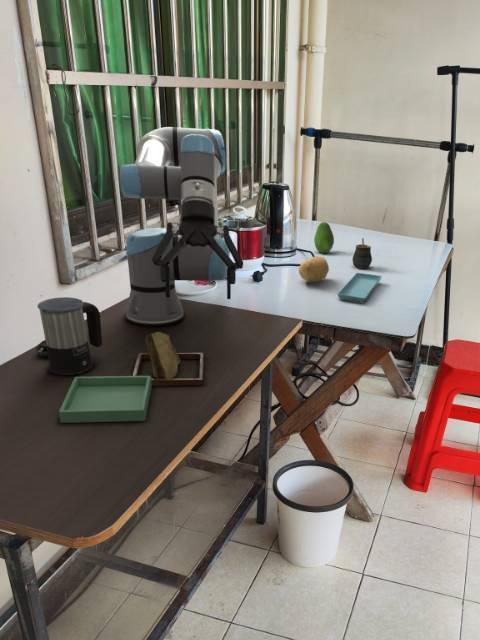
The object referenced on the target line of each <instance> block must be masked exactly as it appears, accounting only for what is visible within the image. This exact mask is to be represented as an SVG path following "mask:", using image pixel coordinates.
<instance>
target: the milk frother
mask: <svg viewBox="0 0 480 640" xmlns="http://www.w3.org/2000/svg"><path fill="white" fill-rule="evenodd" d="M37 309H38V310H39V313H40V318H41V319H40V320H41V324H42V329H43V335H44V339H43V340H42V341H40V343H38V344H37V346H36V354H38V356H40V357H43V358H46V359H47V358H48V362H49V366H48V370H49V372H51V373H52V374H55V375H58V376H75V375H80V374H83V373H85V372H88V371H90V370H91V369H92V368H93V367H94V362H93V360H92V356H91V351H90V347H89V344H90V345H91V346H93V347H95V348H100V347H101V346H102V344H103V337H102V335H103V334H102V322H101V312H100V310H99V309H98V307H97V306H96V305H94V304H92V303H90V302H88V301H83V300H82V299H80V298H76V297H71V296H69V297H66V296H63V297H52V298H49V299H48V298H47V299H45V300H42V301H40V302H38V304H37ZM84 314H85V315H86V316H84ZM85 317H86V322H85ZM86 327H87V328H86ZM87 333H88V334H87Z"/></svg>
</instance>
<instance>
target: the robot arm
mask: <svg viewBox="0 0 480 640" xmlns="http://www.w3.org/2000/svg"><path fill="white" fill-rule="evenodd" d="M224 142H225V141H224V139H223V135H222V133H221V132H220V131H219V130H217V129H210V128H191V127H173V126H166V127H165V126H164V127H160V128H156V129H154V130H151V131H149V132H148V133H146V134H144V135H143V136H141V138H140V139H139V141H138V142H137V145H136V150H135V152H136V153H135V155H136V159H135V162H134V163H129V164H122V165H121V166H120V168H119V182H120V183H119V184H120V188H121V193H122V195H123V196H124V197H125V198H130V199H137V200H140V199H141V200H143V199H145V200H146V199H147V200H148V199H149V200H175V201H177V200H178V201H180V203H181V205H180V225H177V224H173V223H172V222H168V223H166V227H149V228H143V229H138V230H136V231H133V232H130V233H129V234H128V235H127V237H126V239H125V242H126V245H125V246H126V252H125V255H126V257H127V258H126V259H127V265H128V275H129V287H130V292H129V297H128V301H127V304H126V309H125V315H126V316H125V317H126V320H127V321H128V322H130V323H131V324H134V325H137V326H138V325H139V326H143V327H144V326H145V327H162V326H169V325H174V324H176V323H178V322H180V321H182V320H183V319H184V316H185V315H184V308H183V305H182V302H181V300H180V297H179V295H178V292H177V290H176V283H175V281H195V282H197V281H201V282H203V281H204V282H219V281H223V280H226V299H227V300H231V298H232V297H231V296H232V292H231V291H232V289H231V288H232V287H231V286H232V285H235V284H236V282H237V281H236V280H237V279H236V271H237V270H240V269H241V270H242V269H243V267H244V261H243V259H242V256H241V254H240V253H239V251H238V249H237V248H236V245H235V244H234V241H233V239H232V237H231V235H230V230H229V226H228V225H226V224H225V225H223V227H220V226H219V209H218V208H219V206H218V205H219V204H218V188H217V186H218V185H217V179H218V178H219V177H220V174H221V173H224V172H225V171H226V162H227V161H226V151H225V143H224ZM177 233H180V234H177ZM230 255H231V256H232V259H233V260H234V261H233V260H232V259H231V257H230Z"/></svg>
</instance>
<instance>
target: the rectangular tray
mask: <svg viewBox="0 0 480 640" xmlns="http://www.w3.org/2000/svg"><path fill="white" fill-rule="evenodd" d="M382 277H383V276H382V275H377V274H370V273H364V272H356V273H354V275H353V276H352V277H351V278H350V279H349V281H347V283H346V284H345V285H343V287H342V288H340V290H339V291H338V292H337V296H338V298H339V299H340V301H347V302H353V303H360V304H363V303H364V302H365V301H366V300H367V298H368V297H369V296H370V294H371V293H372V292H373V290H374V289H375V288H376V286H377V285H378V284H379V282H380V281H381V279H382Z"/></svg>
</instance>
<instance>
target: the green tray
mask: <svg viewBox="0 0 480 640" xmlns="http://www.w3.org/2000/svg"><path fill="white" fill-rule="evenodd" d="M151 379H152V376H151V375H138V376H133V375H114V376H113V375H112V376H109V375H107V376H105V375H103V376H74V378H73V381H72V382H71V385H70V386H69V389H68V391H67V393H66V395H65V398H64V399H63V402H62V404H61V406H60V408H59V410H58V417H59V422H60V423H61V424H68V423H69V424H72V423H73V424H74V423H109V422H110V423H112V422H145V421H146V417H147V413H148V407H149V402H150V398H151V392H152V387H153V386H152V382H151Z"/></svg>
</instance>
